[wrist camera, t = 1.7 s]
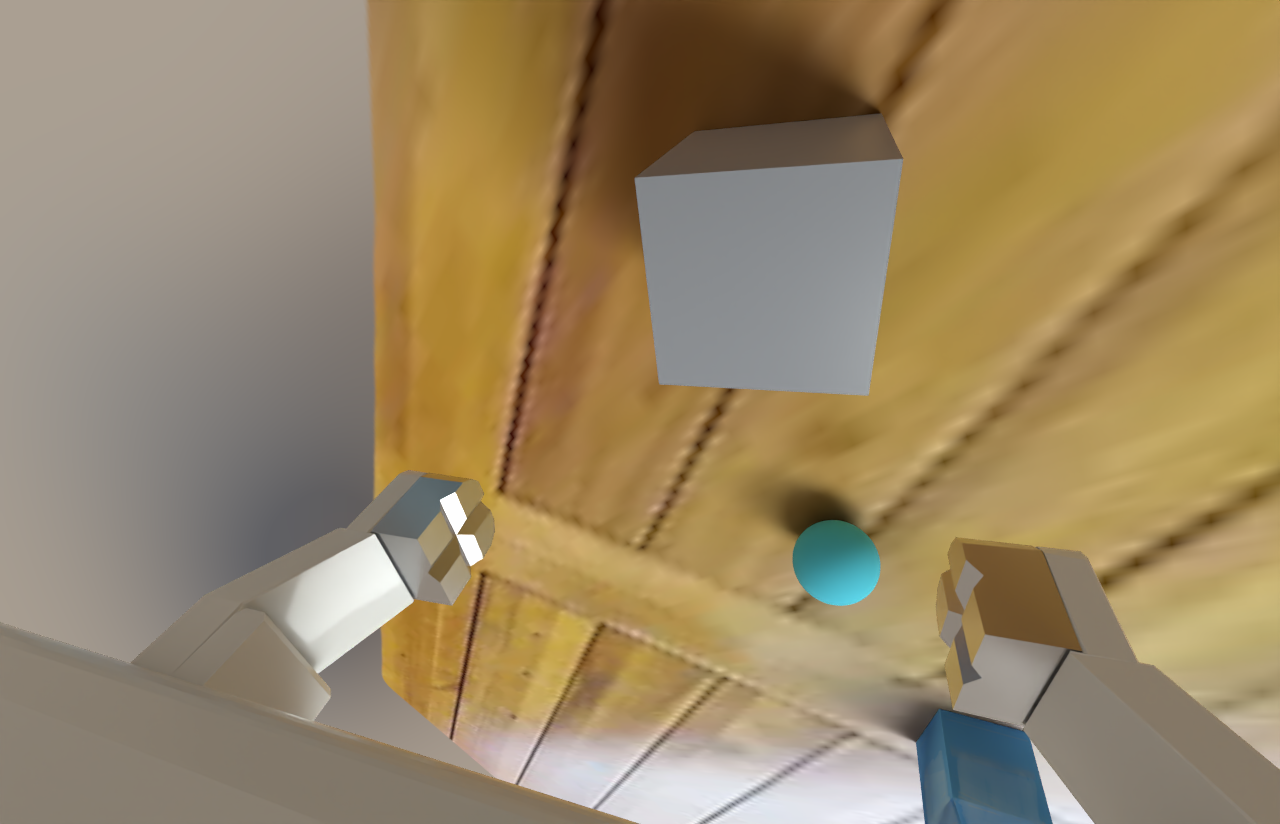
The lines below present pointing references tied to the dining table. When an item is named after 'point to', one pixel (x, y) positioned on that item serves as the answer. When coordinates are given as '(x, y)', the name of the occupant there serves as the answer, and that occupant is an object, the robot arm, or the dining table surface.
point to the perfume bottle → (978, 773)
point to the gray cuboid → (770, 253)
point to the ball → (836, 562)
